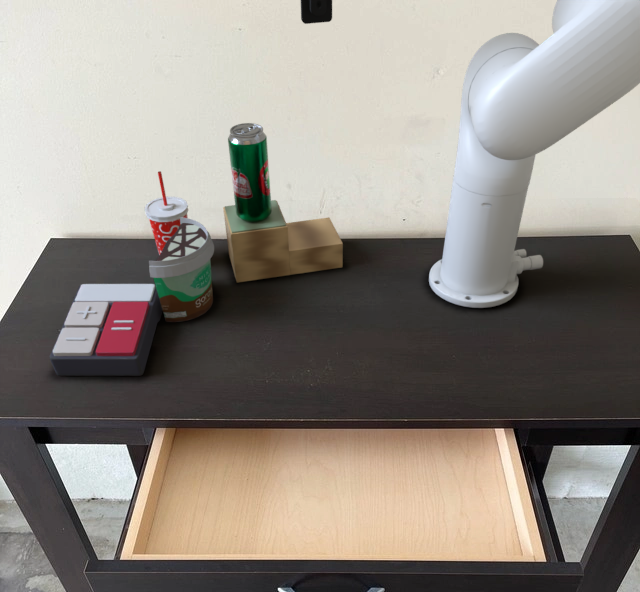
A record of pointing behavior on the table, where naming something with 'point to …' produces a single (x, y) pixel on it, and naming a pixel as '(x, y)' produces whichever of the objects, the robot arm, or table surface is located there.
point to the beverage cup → (165, 216)
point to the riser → (280, 245)
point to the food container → (184, 272)
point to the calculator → (107, 331)
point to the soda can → (250, 172)
